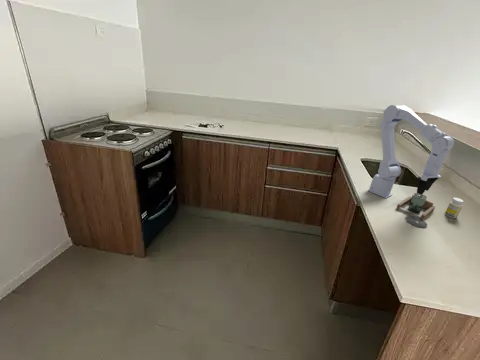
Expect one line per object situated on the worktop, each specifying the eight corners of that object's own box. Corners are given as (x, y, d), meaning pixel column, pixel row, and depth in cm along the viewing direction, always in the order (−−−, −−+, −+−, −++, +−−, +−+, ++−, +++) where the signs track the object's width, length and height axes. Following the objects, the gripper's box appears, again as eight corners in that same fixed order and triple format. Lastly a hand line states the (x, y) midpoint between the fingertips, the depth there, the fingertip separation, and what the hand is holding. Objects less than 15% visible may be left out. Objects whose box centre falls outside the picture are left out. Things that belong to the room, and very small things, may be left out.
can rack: (395, 208, 128) (398, 201, 126) (407, 200, 137) (410, 193, 135) (422, 220, 120) (426, 212, 118) (433, 211, 130) (436, 203, 128)
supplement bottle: (451, 213, 130) (459, 197, 127) (459, 218, 126) (467, 202, 122) (442, 212, 130) (449, 196, 126) (449, 217, 125) (457, 201, 122)
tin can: (406, 209, 128) (412, 194, 125) (410, 206, 131) (416, 192, 128) (418, 214, 125) (424, 199, 121) (421, 211, 128) (428, 196, 125)
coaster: (402, 220, 118) (403, 219, 118) (409, 215, 123) (410, 214, 123) (423, 230, 113) (423, 228, 113) (429, 224, 118) (429, 222, 118)
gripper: (440, 169, 111) (426, 199, 117) (449, 164, 120) (437, 191, 126) (421, 163, 116) (409, 192, 121) (431, 158, 125) (420, 185, 130)
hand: (422, 191), depth 124 cm, fingers open, 7 cm apart
